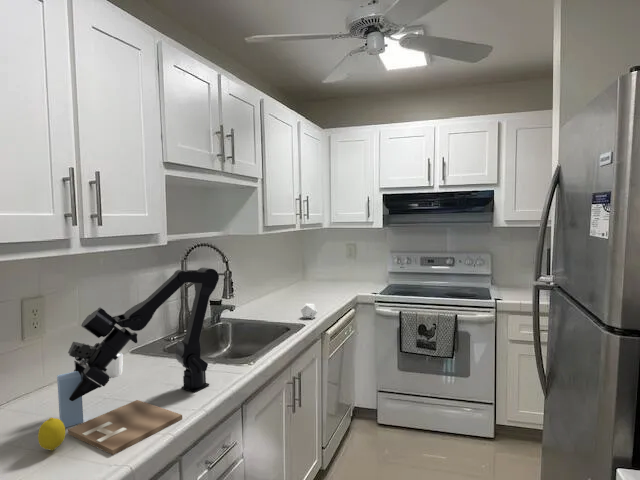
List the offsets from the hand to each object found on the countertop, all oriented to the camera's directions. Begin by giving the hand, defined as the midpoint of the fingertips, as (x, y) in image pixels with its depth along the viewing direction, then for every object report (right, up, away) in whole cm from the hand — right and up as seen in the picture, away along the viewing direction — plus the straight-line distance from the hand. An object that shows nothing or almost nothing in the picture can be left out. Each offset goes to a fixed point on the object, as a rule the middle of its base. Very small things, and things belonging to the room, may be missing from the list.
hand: (67, 394), depth 113 cm
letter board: (+17, -7, -3) cm, 19 cm away
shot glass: (-6, -6, +36) cm, 37 cm away
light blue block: (+1, -8, +1) cm, 8 cm away
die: (+63, -1, +115) cm, 131 cm away
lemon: (+5, -8, -14) cm, 17 cm away
